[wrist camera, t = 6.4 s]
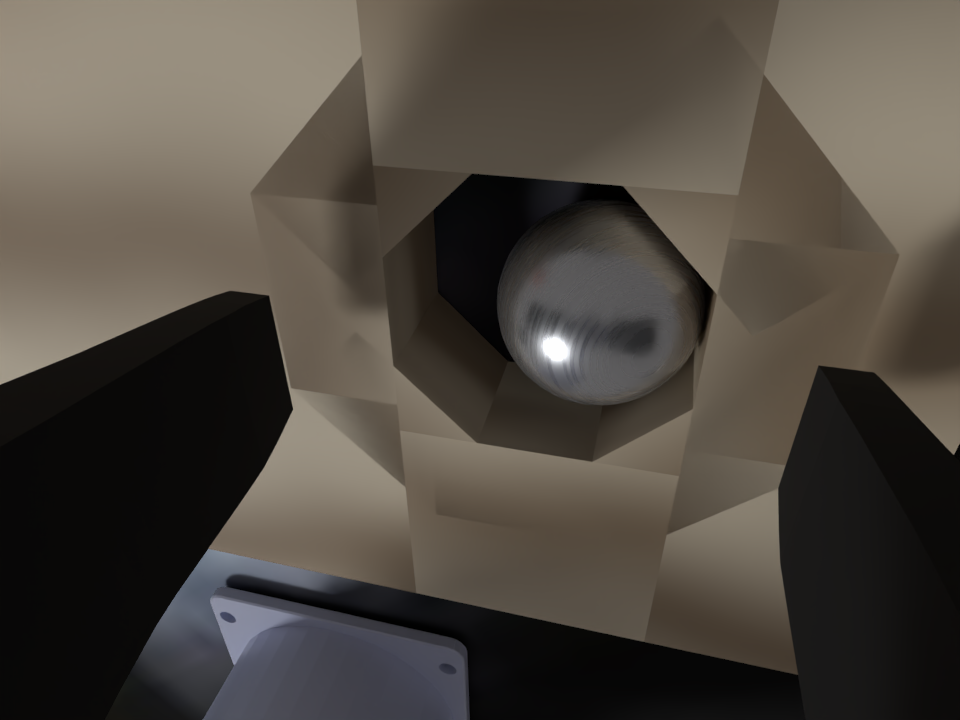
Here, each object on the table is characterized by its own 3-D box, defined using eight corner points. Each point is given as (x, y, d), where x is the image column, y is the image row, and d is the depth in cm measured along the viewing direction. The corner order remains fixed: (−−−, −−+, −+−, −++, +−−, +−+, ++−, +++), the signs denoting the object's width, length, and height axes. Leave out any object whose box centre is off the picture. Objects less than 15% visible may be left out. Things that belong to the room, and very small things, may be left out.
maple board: (819, 577, 15) (837, 683, 13) (46, 433, 20) (-27, 498, 18) (1184, -292, 7) (1364, -348, 5) (-270, -220, 11) (-473, -236, 9)
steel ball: (632, 322, 14) (726, 424, 11) (473, 350, 13) (535, 466, 10) (654, 159, 12) (772, 236, 9) (470, 181, 11) (543, 272, 9)
